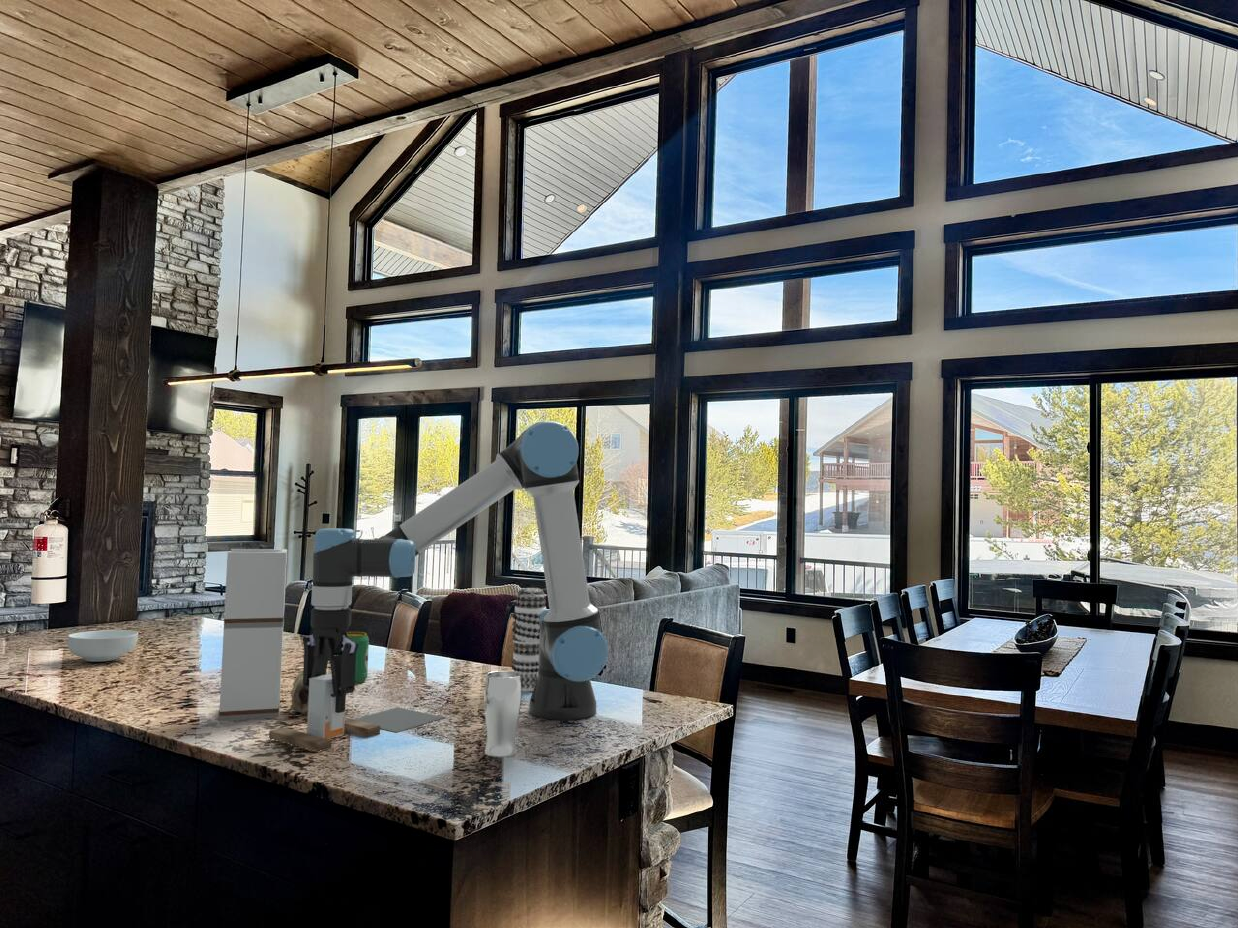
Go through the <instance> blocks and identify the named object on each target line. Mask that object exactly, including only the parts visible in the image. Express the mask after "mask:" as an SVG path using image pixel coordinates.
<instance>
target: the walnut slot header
mask: <svg viewBox="0 0 1238 928" xmlns="http://www.w3.org/2000/svg"><path fill="white" fill-rule="evenodd" d="M354 719H355V718H349V717H345V724H344V733H347V734H352V735H357V736H360V737H365V738H371V737H374V736H377V735H378V736H379V735H380V734H381V729H380V725H375V724H371V723H367V722H362V721H358V720H354ZM269 738H270V739H274V740H278V741H282V742H285V743H289V744H292V745H297V746H300V747H303V748H302V749H304V748H308V749H311V750H310V751H312V750H316V751H320V750H323V751H325V750H324V749H327V748H330V747H331V748H332V739H326V738H322V737H319V736H315V735H311V734H307V732H302V731H298V730H295V729H291V728H287V727H279V728H275V729H270V730H269V731H268V739H269ZM292 745H291V746H292ZM300 747H299V748H300ZM331 748H330V749H331ZM308 749H307V750H308ZM327 750H328V749H327ZM320 752H321V751H320Z"/></svg>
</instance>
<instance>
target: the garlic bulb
mask: <svg viewBox="0 0 1238 928" xmlns="http://www.w3.org/2000/svg"><path fill="white" fill-rule="evenodd" d="M326 674H328V671H327V670H326ZM326 674H325V675H326ZM309 679H310V678H309ZM292 683H293V684H292V685H293V686H292V689H291V695H290V696H291V700H290V701H291V702H290V703H291V705H289V706H290V707H289V708H290V709H291V710H292V711H294V712H297V713H300V714H302V715H308V700H309V688H308V687H307V686H306V687H305V686H303V670H301V671H300V672H299V673H298V674H297V675H296V677H295V679H294V680H293V682H292Z"/></svg>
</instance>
